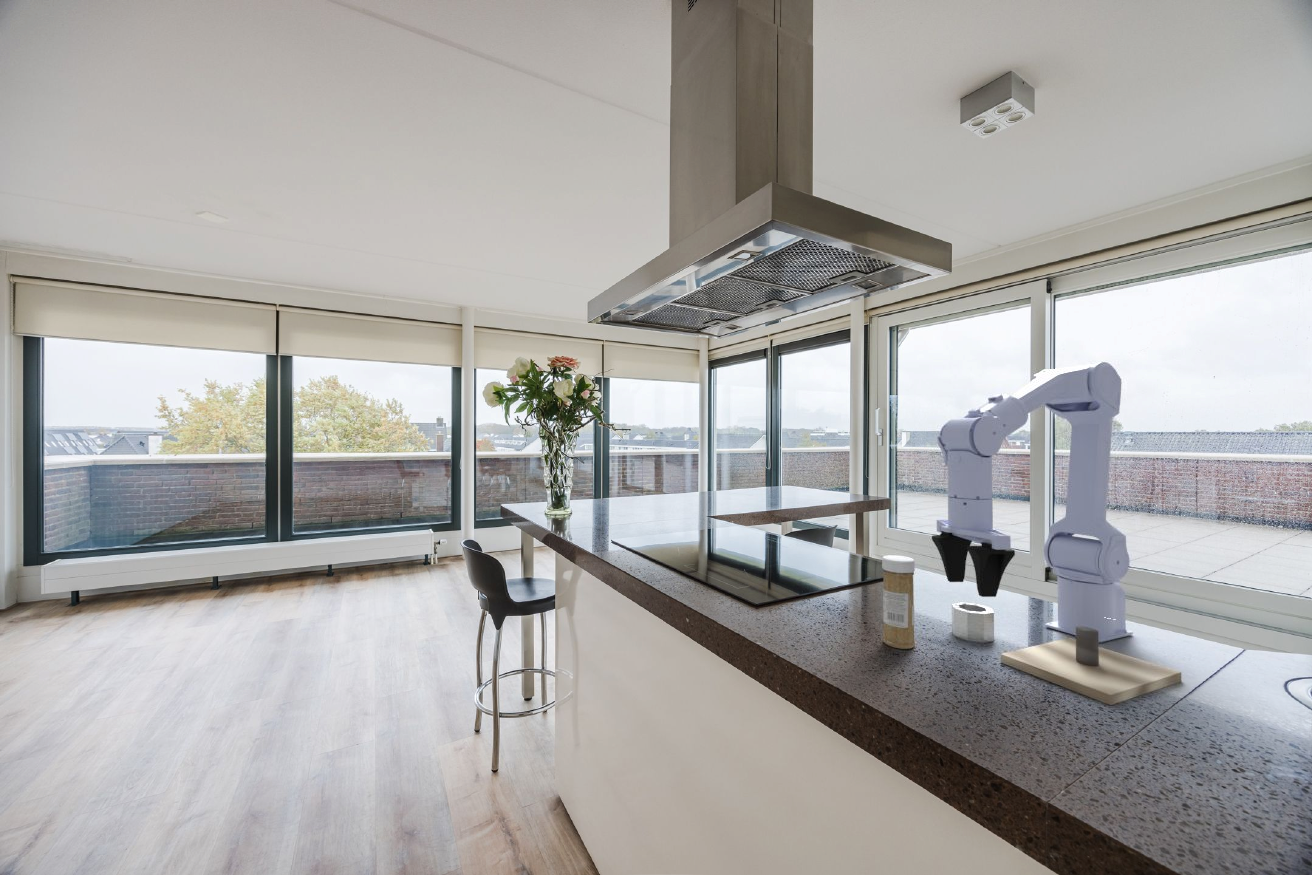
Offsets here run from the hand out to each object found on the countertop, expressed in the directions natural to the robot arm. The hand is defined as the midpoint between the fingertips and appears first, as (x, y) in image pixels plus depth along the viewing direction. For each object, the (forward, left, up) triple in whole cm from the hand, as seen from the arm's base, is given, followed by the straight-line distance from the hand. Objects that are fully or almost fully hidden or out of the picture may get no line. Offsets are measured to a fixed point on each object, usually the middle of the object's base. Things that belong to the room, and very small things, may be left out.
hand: (970, 588), depth 77 cm
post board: (-8, +11, -10) cm, 17 cm away
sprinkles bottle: (+8, -6, -10) cm, 14 cm away
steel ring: (-6, -4, -10) cm, 12 cm away
